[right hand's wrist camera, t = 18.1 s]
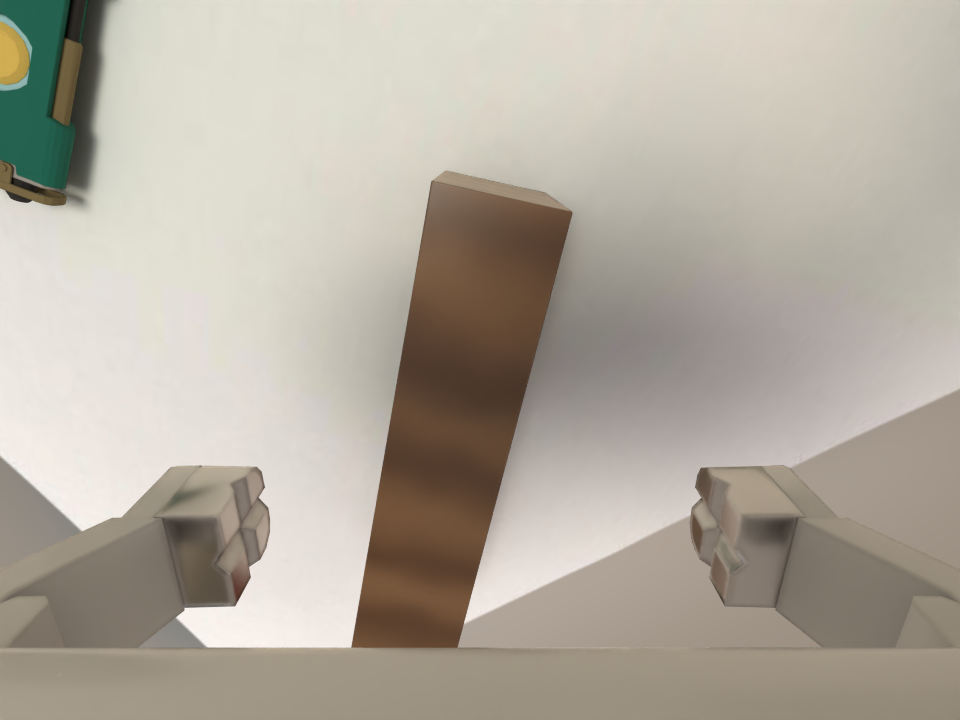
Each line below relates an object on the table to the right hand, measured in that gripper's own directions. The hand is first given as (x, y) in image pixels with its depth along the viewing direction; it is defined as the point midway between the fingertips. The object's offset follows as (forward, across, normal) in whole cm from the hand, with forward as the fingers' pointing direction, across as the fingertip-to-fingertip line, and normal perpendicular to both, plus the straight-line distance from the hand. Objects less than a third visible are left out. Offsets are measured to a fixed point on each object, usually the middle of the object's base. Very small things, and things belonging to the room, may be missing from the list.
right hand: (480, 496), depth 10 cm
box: (+25, -2, -9) cm, 26 cm away
